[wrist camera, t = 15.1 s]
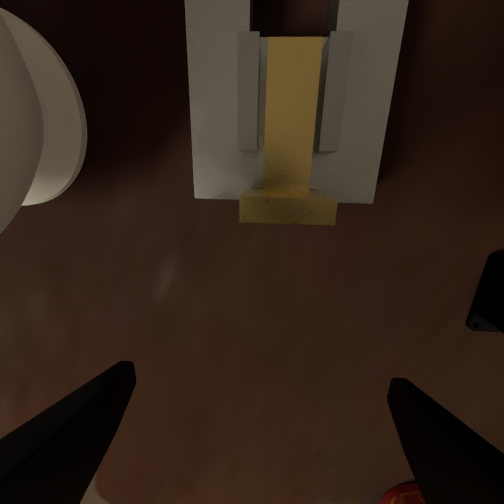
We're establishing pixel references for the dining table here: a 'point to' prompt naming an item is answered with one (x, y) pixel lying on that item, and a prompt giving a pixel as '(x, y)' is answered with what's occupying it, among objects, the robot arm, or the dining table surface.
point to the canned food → (404, 495)
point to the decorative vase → (36, 120)
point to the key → (290, 139)
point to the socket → (254, 96)
